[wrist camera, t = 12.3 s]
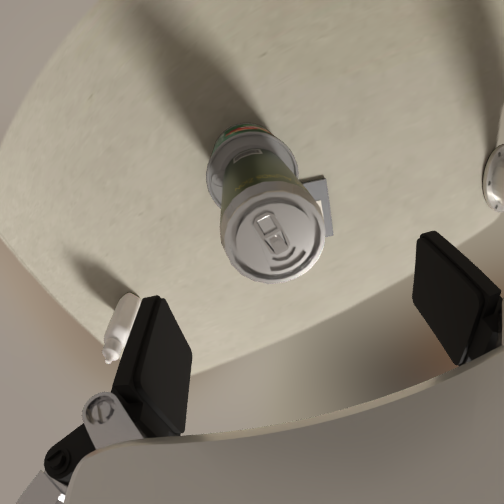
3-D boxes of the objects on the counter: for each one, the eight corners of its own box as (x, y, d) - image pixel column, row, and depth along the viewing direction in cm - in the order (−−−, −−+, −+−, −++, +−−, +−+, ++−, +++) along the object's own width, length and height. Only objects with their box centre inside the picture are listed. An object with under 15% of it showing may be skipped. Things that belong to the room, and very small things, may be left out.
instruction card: (324, 178, 36) (326, 179, 36) (332, 233, 40) (333, 235, 40) (231, 199, 37) (231, 200, 36) (246, 254, 41) (247, 256, 40)
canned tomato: (278, 121, 33) (299, 130, 23) (279, 184, 37) (299, 217, 27) (210, 125, 32) (202, 135, 23) (215, 188, 36) (210, 223, 27)
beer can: (211, 167, 24) (197, 223, 14) (268, 135, 23) (302, 165, 13) (243, 218, 27) (253, 303, 16) (297, 189, 26) (344, 257, 15)
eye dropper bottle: (150, 310, 44) (133, 368, 34) (123, 320, 45) (103, 376, 34) (134, 289, 42) (112, 346, 32) (107, 300, 43) (82, 355, 32)
